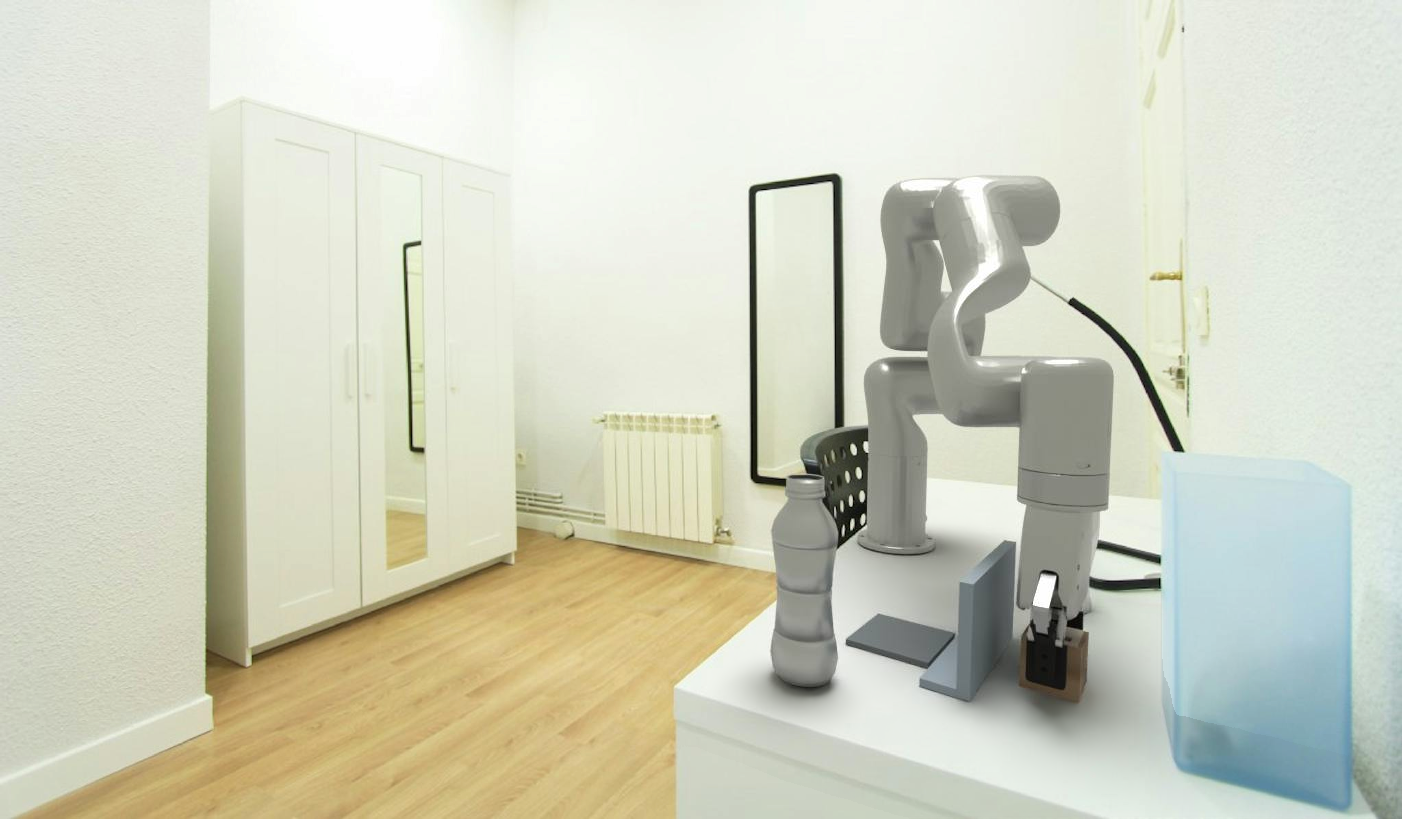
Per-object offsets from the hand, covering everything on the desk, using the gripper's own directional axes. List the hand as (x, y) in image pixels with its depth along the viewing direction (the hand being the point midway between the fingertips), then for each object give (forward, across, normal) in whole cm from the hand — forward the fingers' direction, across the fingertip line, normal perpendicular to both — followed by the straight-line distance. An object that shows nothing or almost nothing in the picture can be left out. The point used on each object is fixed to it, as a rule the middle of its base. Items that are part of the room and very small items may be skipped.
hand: (1055, 664), depth 61 cm
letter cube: (+2, 0, 0) cm, 2 cm away
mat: (+2, 0, -15) cm, 15 cm away
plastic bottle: (+2, +14, -20) cm, 24 cm away
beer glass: (+2, -23, -3) cm, 23 cm away
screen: (+2, 0, -8) cm, 8 cm away
